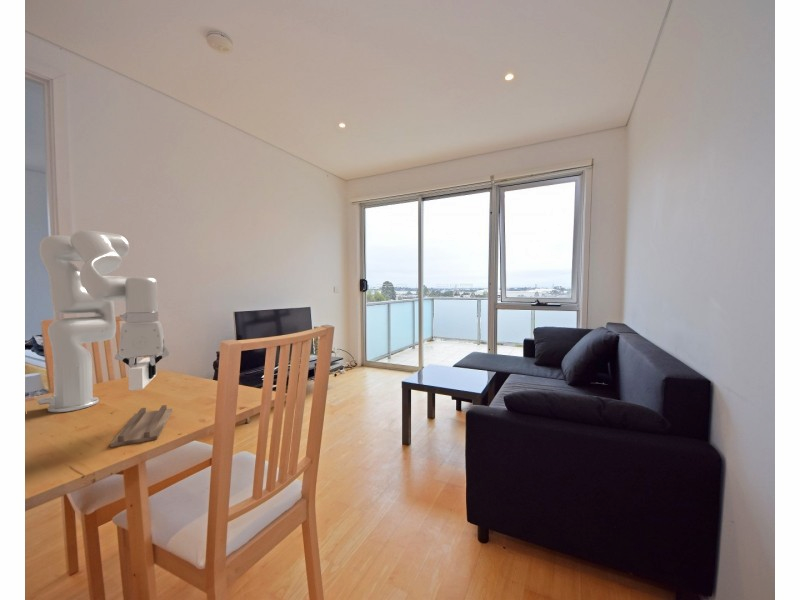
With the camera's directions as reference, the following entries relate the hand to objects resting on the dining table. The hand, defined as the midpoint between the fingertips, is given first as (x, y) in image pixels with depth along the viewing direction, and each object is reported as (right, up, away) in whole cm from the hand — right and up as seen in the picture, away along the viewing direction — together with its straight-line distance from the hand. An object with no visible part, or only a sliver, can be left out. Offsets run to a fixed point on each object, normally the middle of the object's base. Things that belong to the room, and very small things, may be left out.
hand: (143, 377), depth 95 cm
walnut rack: (0, -15, +1) cm, 15 cm away
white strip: (0, -1, 0) cm, 1 cm away
